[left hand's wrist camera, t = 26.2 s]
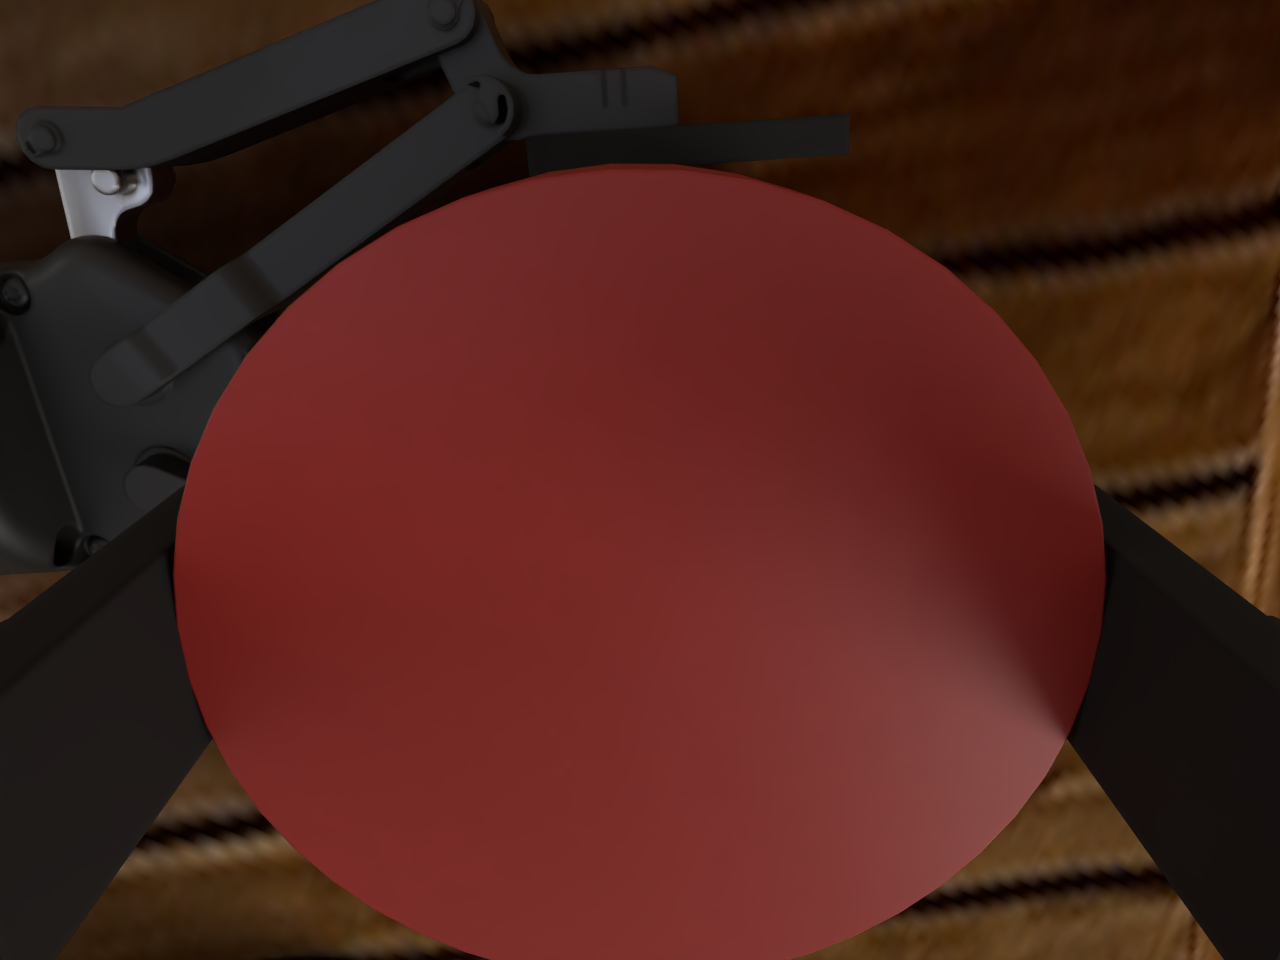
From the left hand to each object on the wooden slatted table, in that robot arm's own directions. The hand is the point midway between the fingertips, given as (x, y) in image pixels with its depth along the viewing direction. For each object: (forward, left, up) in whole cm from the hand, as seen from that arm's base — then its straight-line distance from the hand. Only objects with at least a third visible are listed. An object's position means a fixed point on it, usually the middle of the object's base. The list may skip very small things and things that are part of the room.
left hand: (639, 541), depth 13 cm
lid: (0, 0, +3) cm, 3 cm away
